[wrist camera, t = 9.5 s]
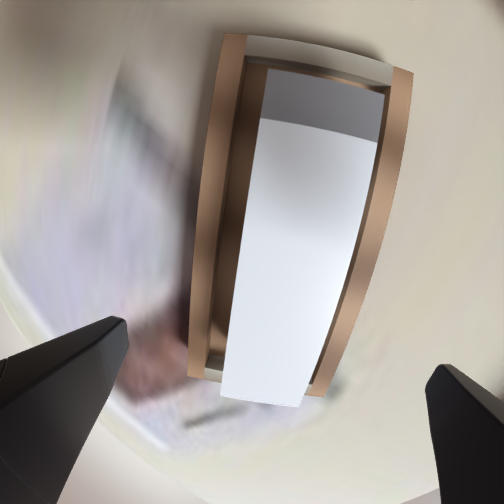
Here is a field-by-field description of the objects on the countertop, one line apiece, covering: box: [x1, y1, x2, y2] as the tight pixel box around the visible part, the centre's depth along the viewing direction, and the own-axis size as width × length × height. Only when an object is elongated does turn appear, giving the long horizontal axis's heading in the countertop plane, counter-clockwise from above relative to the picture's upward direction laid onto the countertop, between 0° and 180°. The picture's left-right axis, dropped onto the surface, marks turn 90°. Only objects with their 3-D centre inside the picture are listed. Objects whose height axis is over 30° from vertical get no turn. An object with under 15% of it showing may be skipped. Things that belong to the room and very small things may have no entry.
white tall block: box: [220, 69, 385, 407], centre depth 14 cm, size 16×4×5 cm, turn 171°
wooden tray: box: [187, 33, 414, 397], centre depth 17 cm, size 21×10×2 cm, turn 171°
